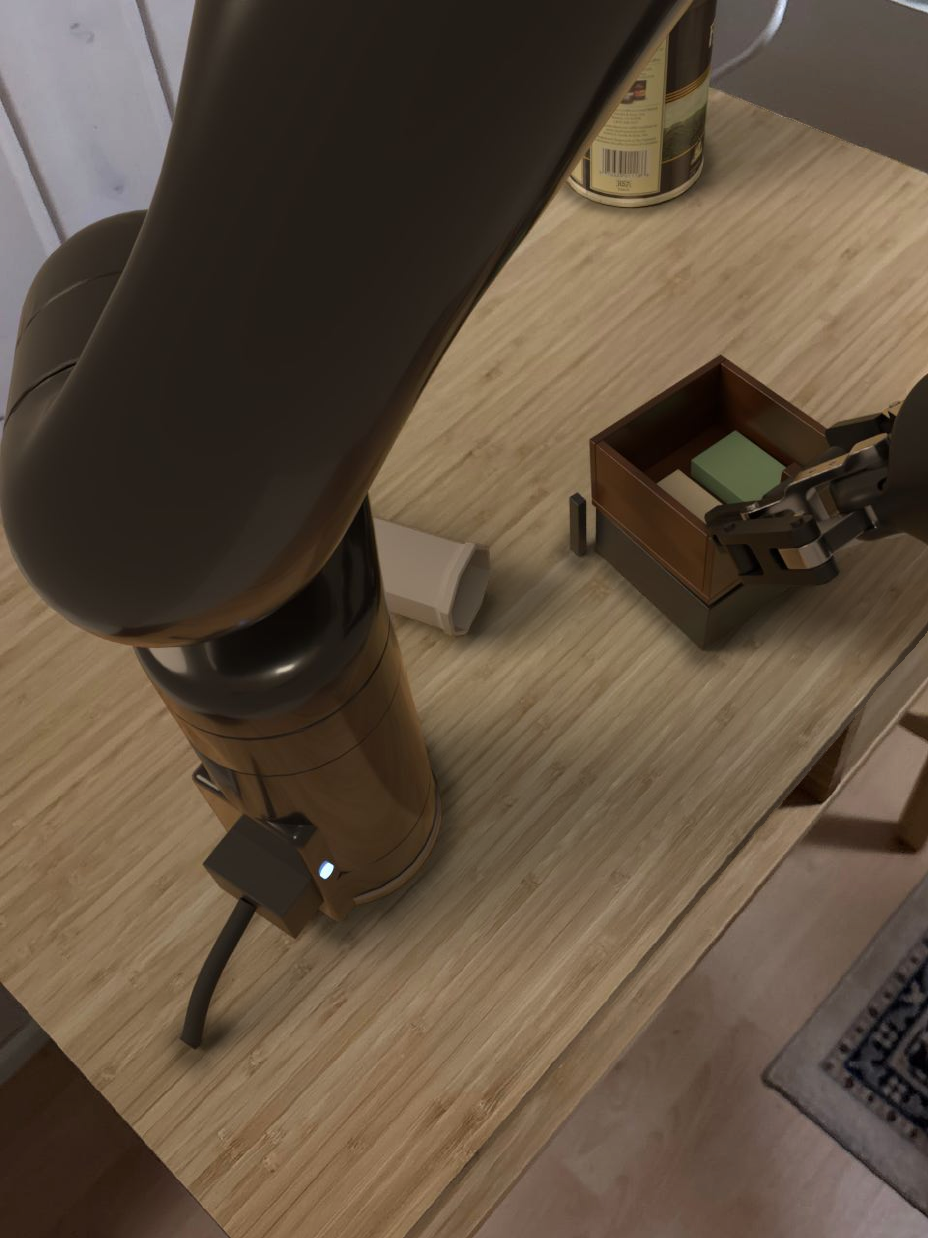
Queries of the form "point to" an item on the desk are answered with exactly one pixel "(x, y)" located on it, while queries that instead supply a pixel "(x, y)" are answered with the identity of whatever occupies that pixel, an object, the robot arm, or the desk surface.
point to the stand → (668, 581)
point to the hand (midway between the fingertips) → (778, 487)
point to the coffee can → (656, 122)
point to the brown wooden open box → (668, 442)
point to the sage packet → (736, 470)
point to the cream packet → (689, 494)
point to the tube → (432, 575)
